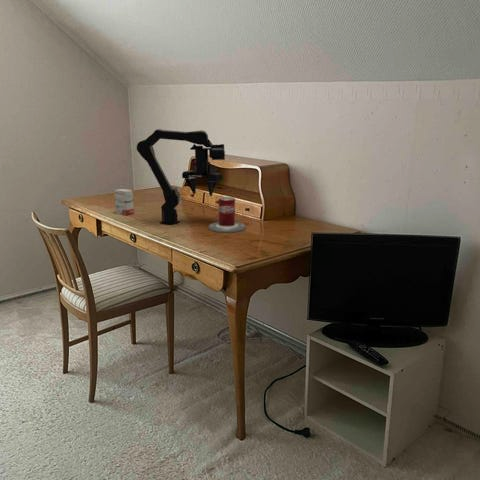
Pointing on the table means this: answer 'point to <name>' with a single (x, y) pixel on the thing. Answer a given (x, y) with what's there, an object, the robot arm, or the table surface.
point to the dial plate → (227, 228)
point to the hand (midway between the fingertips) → (202, 194)
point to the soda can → (226, 211)
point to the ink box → (124, 201)
